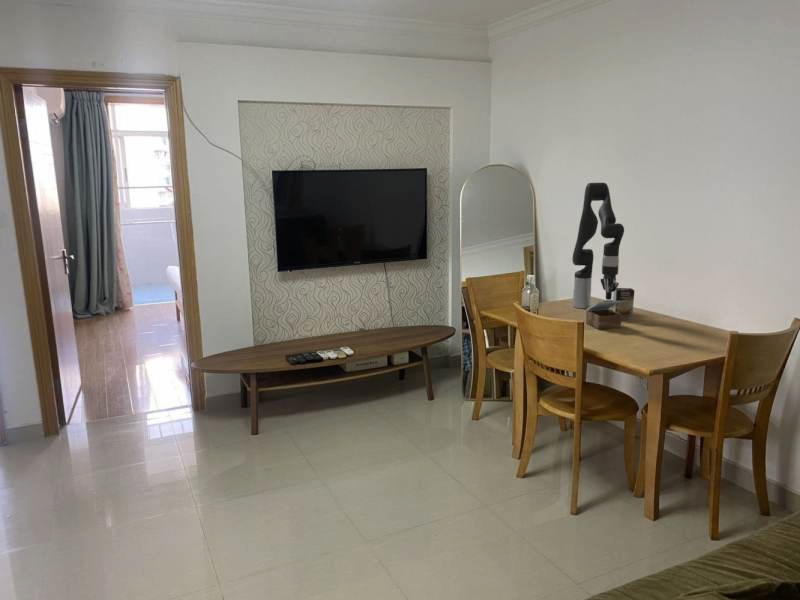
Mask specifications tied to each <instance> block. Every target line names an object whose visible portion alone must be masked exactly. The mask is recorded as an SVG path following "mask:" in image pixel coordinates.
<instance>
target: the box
mask: <svg viewBox="0 0 800 600" xmlns="http://www.w3.org/2000/svg"><path fill="white" fill-rule="evenodd" d="M585 325H587V326H589V325H590V327H591V326H592V327H591V328H593V327H594V329H596V330H598V331H600V330H604V331H605V330H614V329H621V327H622V320H621V314H618V313H616V312H613V311H612V309H602V310H589V311H587V310H586V318H585Z"/></svg>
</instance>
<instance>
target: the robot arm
mask: <svg viewBox="0 0 800 600" xmlns="http://www.w3.org/2000/svg"><path fill="white" fill-rule="evenodd" d="M595 201H598V202H599V201H602V204H601V206H600V207H599V209H598V213H597V214H598V216H597V215H596V214H595V212H594V210H593V208H592V202H595ZM582 205H583V206H582V212H581V216H580V221H579V226H578V232H577V238H576V242H575V245H574V249H573V253H572V264H573V265H574V266H579V267H580V266H584V267H583V268H582V269H579V270H577V271H575V272H574V284H573V294H572V295H573V296H572V297H573V298H572V299H573V301H572V306H573V307H574V308H576V309H587V308H589V307H591V296H592V295H591V294H592V278H593V277H592V276H593V267H594V265H593V264H594V251H593V249H591V248H584V247H585V246H586V244H587V243H588V242H589V241H590V240H591V239H592V238H594V236H595V234H596V233H597V229H598V224H599V220H600V225H601V227H600V235H601V237H602V238H604V239H613V240H612V241H610V242H607V243H604V245H603V257H602V262H601V263H602V264H601V274H602V275H603V278H600V283H601V286H602V290H603V291H604V292H605V300H606V301H607V300H612V294H613V293H614V291H615V290H616V288H619V287H618V286H619V282H617V276H618V274H619V265H620V264H619V263H620V257H619V254H620V245H621V242H622V239H623V237H624V233H625V227H624V225H623V224H621V223H616V222H617V217H616V216H615V213H614V210H613V206H612V201H611V194H610V188H609V186H608V183H605V182H589V183H587V184H586V185H585V190H584V196H583V204H582ZM598 217H599V219H598Z"/></svg>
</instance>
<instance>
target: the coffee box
mask: <svg viewBox="0 0 800 600" xmlns="http://www.w3.org/2000/svg"><path fill="white" fill-rule="evenodd" d="M612 294H613V297H612V300H613V301H620V302H619V303H618V304H616V305H614V306H612V307H611V311H613V312H616V313H618V314H621V321H633V315H634V303H635V302H634V301H635V289H633V288H630V287H629V288H628V287H617V288H616V290H615V291H614V292H613V293H612Z"/></svg>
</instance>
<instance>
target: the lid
mask: <svg viewBox="0 0 800 600" xmlns="http://www.w3.org/2000/svg"><path fill="white" fill-rule="evenodd" d="M619 302H620V301H613V299H611V300H607V299H606V300H603V301H598V302H595V303H594V304H592V305H590V307H589V308H585V309H586V312H587V311H594V310H607V309H608V310H610V309H612V307H613V306H614V305H616V304H618V303H619Z"/></svg>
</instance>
